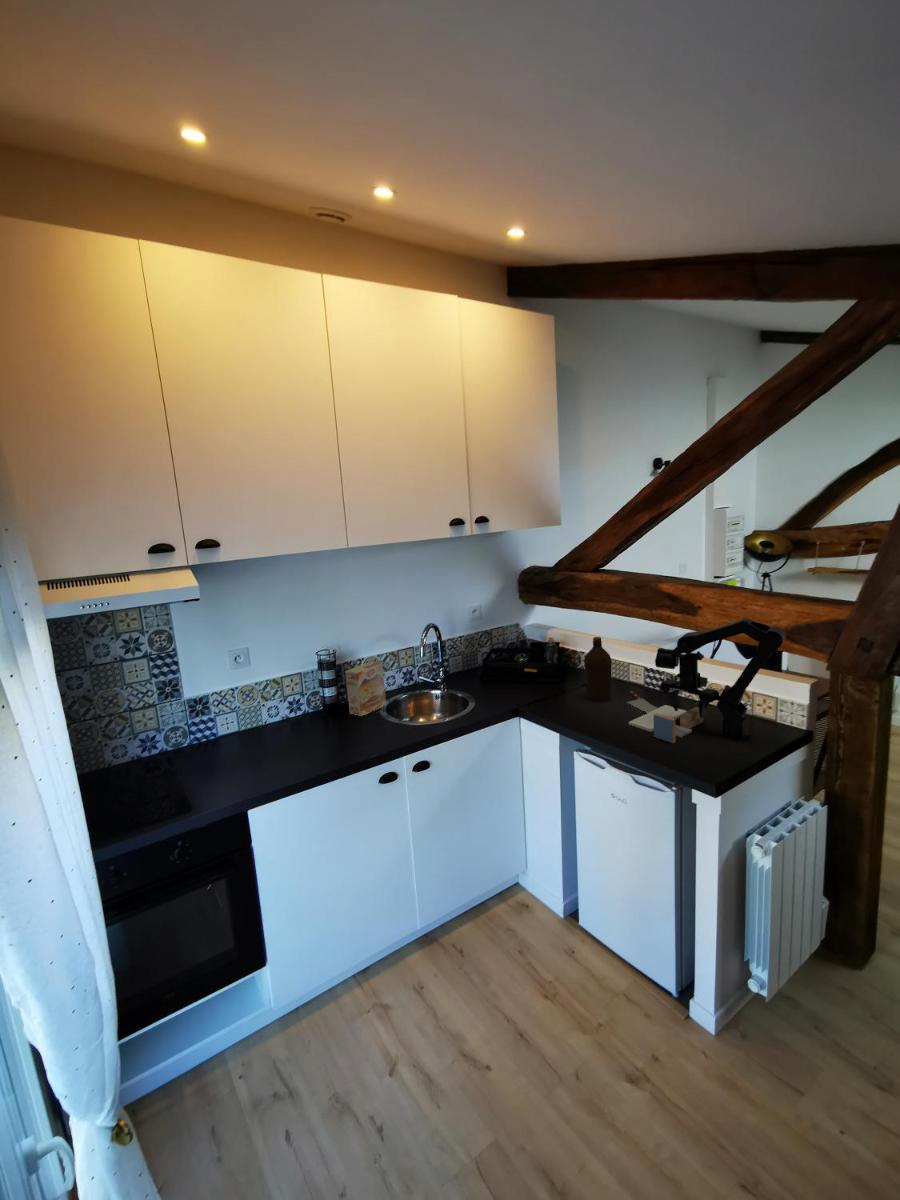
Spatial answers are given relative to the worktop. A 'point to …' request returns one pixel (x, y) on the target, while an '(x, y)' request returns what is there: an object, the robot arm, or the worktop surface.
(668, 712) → the rest board
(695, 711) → the turner
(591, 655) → the olive oil
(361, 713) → the coffeecake box
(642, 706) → the kitchen cleaver
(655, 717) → the tile
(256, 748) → the worktop surface
